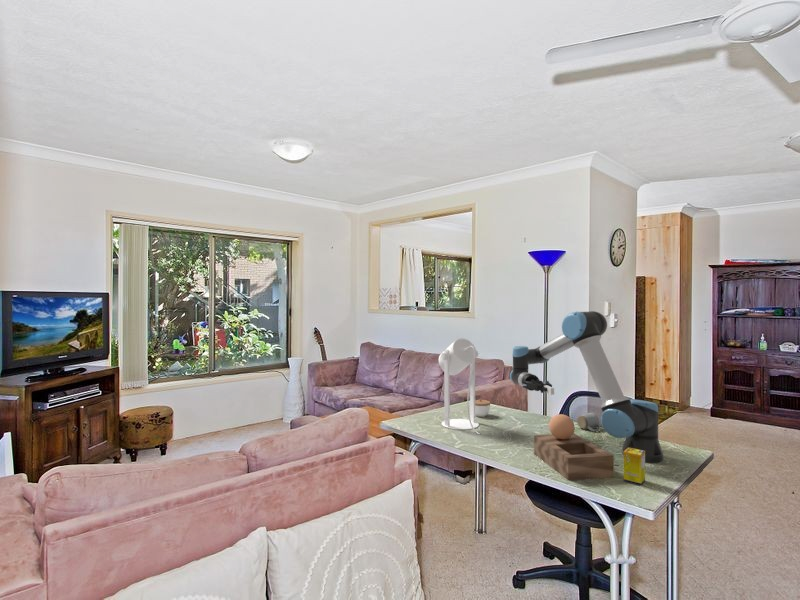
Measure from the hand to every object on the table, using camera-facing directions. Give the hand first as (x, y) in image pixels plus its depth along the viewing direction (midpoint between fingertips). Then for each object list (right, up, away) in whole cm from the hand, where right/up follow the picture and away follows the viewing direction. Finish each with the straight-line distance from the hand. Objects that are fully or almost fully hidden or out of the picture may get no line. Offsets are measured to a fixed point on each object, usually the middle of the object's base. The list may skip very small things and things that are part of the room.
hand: (552, 391), depth 199 cm
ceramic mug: (+30, -26, +34) cm, 52 cm away
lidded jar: (-20, -26, +61) cm, 69 cm away
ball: (+1, -13, -8) cm, 15 cm away
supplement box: (+19, -26, -31) cm, 45 cm away
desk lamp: (-33, -26, +40) cm, 58 cm away
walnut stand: (+2, -26, -14) cm, 30 cm away
